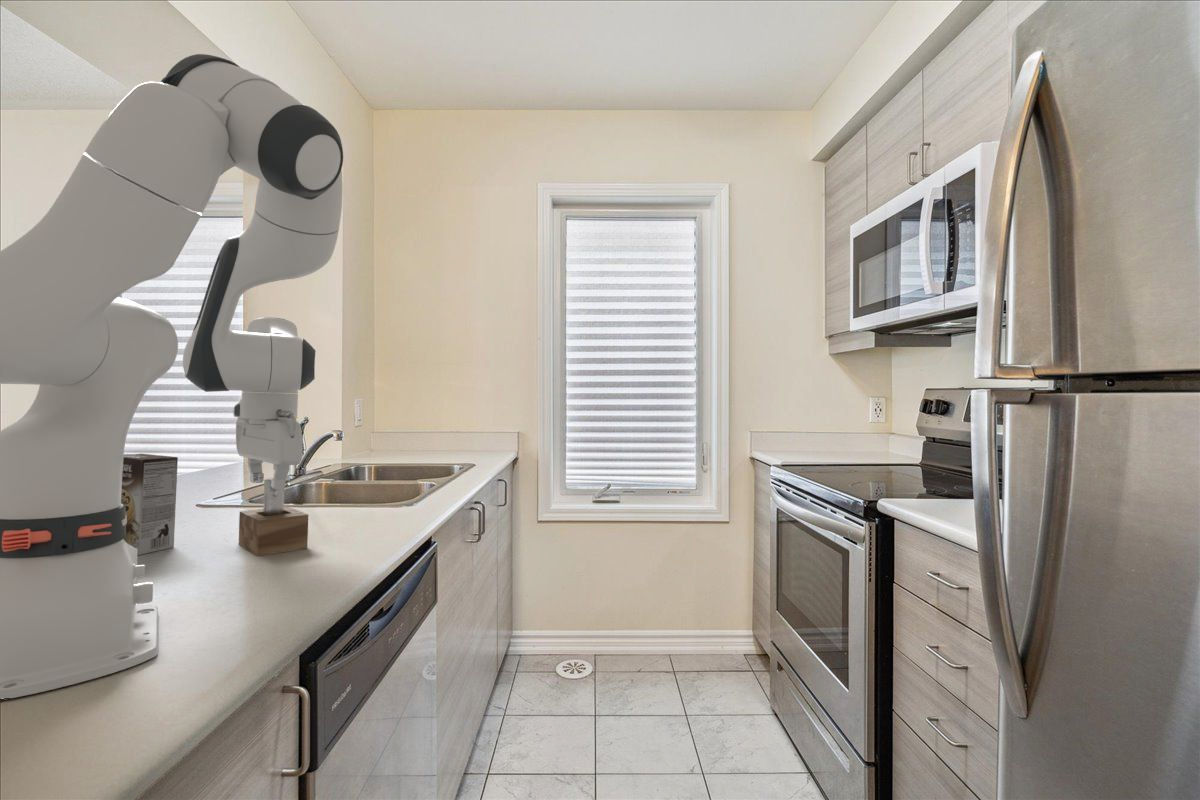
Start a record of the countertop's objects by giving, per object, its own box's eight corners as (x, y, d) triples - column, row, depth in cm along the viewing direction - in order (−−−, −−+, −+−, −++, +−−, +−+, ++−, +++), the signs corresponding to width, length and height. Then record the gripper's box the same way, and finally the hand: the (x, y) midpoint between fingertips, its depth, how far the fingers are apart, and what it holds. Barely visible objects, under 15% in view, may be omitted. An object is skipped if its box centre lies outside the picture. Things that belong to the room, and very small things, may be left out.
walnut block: (307, 547, 104) (308, 514, 104) (258, 555, 98) (259, 520, 98) (285, 537, 110) (286, 506, 110) (238, 544, 104) (239, 511, 104)
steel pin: (285, 535, 104) (287, 480, 104) (266, 538, 101) (268, 481, 101) (279, 532, 106) (280, 478, 106) (259, 535, 104) (261, 479, 104)
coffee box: (99, 550, 98) (101, 455, 98) (139, 541, 104) (141, 452, 104) (137, 556, 95) (140, 458, 95) (176, 546, 102) (179, 455, 101)
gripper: (313, 411, 100) (311, 491, 100) (266, 407, 113) (263, 478, 113) (274, 411, 95) (271, 495, 95) (229, 407, 108) (227, 480, 108)
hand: (267, 485), depth 104 cm, fingers open, 8 cm apart
